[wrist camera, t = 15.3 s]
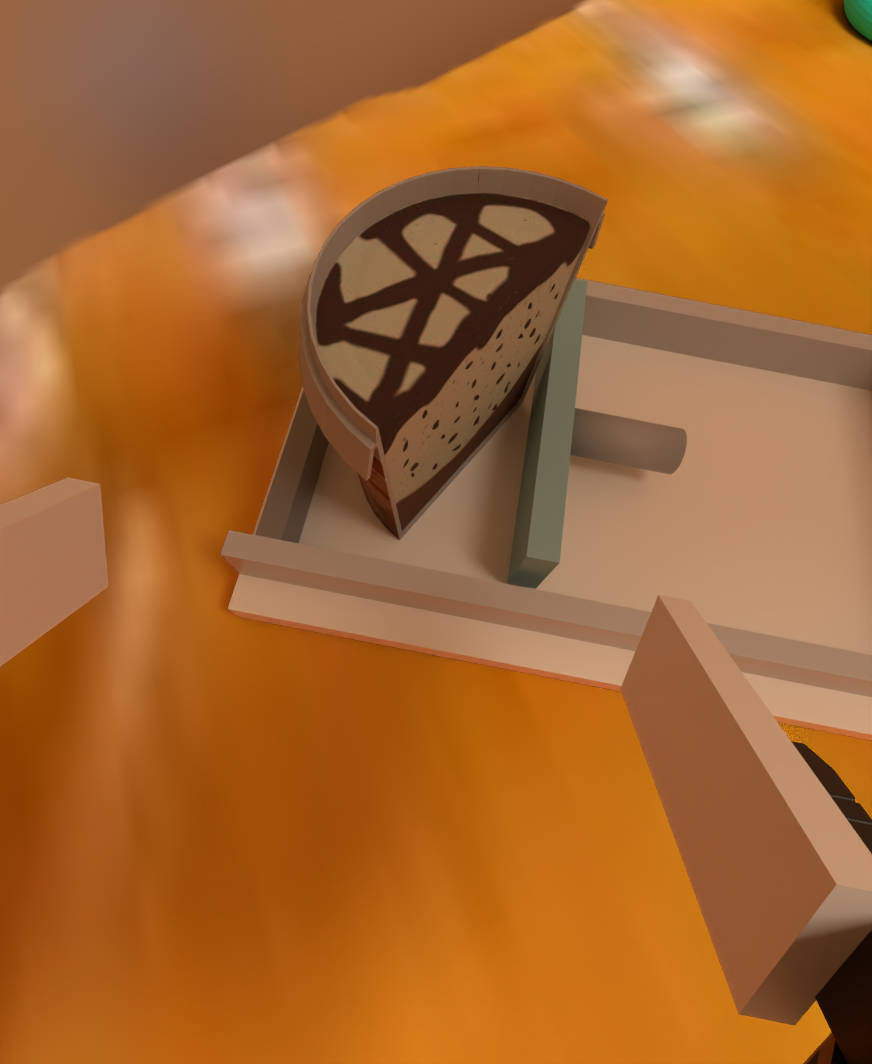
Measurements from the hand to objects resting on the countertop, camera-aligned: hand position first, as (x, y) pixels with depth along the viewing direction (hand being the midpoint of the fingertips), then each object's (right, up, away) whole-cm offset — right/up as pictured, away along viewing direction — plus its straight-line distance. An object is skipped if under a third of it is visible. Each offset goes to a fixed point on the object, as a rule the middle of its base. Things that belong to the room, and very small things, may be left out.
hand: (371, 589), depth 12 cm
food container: (0, +6, +13) cm, 14 cm away
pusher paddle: (+9, +5, +12) cm, 16 cm away
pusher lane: (+10, +4, +14) cm, 17 cm away
